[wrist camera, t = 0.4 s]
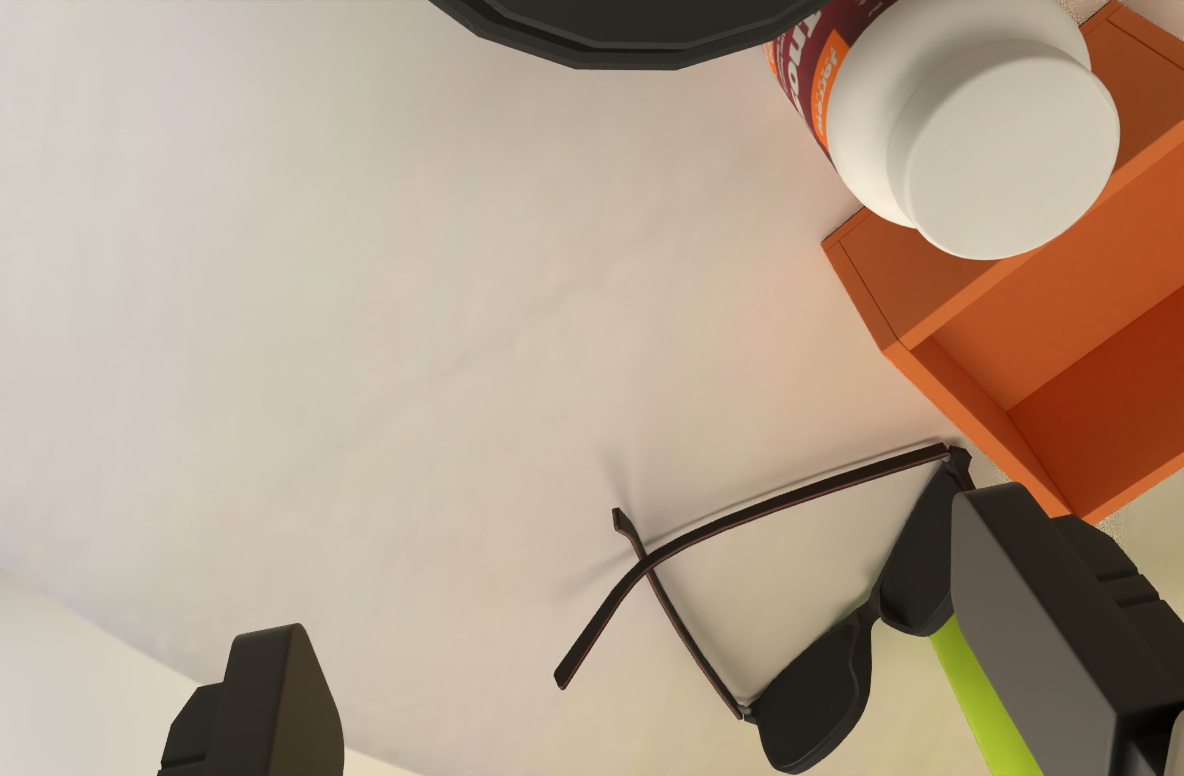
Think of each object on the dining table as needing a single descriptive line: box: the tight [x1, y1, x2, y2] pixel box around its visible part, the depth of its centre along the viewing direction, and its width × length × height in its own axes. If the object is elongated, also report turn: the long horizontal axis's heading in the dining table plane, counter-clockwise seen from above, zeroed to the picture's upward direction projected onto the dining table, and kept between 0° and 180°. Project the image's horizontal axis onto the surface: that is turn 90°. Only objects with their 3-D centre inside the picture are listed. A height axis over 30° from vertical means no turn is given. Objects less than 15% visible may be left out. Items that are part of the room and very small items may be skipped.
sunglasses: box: [554, 442, 976, 775], centre depth 43 cm, size 17×14×5 cm
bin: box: [821, 0, 1184, 526], centre depth 35 cm, size 11×11×7 cm
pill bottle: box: [763, 0, 1120, 260], centre depth 28 cm, size 6×6×11 cm
